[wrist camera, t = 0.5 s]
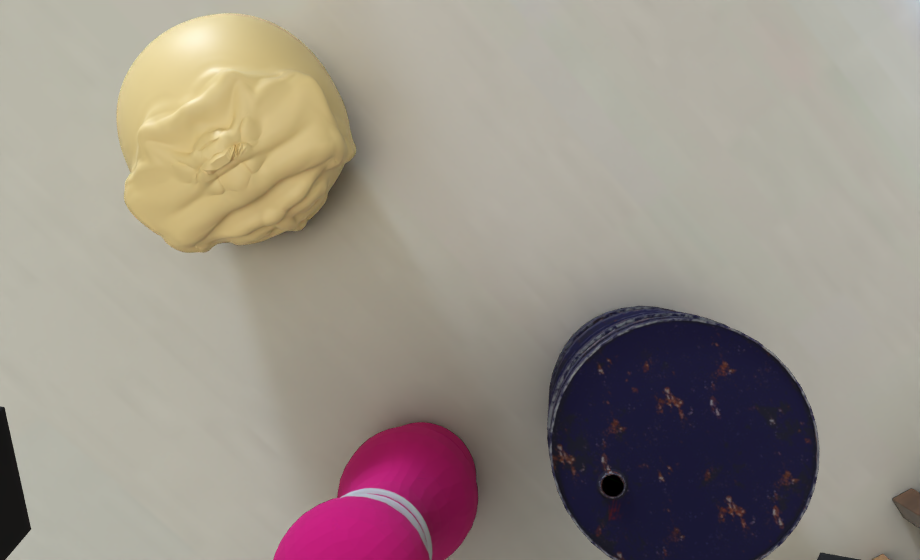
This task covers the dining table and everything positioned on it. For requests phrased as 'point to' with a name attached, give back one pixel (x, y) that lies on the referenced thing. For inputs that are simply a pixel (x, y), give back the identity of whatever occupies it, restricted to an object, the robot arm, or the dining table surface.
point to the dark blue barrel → (679, 438)
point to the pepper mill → (393, 501)
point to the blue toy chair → (881, 557)
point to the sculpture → (229, 133)
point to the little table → (909, 506)
